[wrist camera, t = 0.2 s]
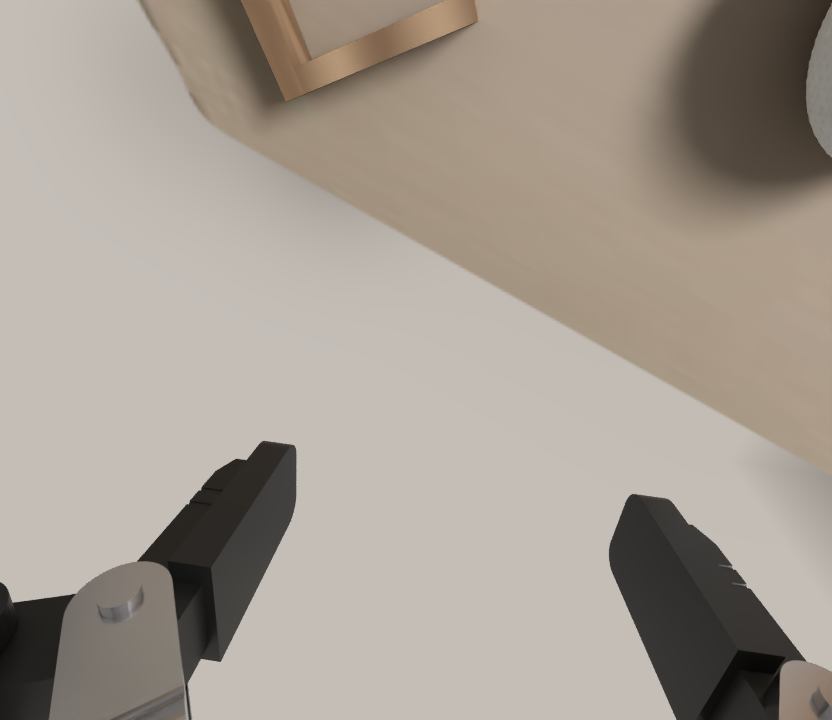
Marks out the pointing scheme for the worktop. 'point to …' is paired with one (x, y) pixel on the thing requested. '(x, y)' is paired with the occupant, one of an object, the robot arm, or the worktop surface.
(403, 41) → the wooden l-shaped block
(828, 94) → the cereal bowl
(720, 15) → the worktop surface
